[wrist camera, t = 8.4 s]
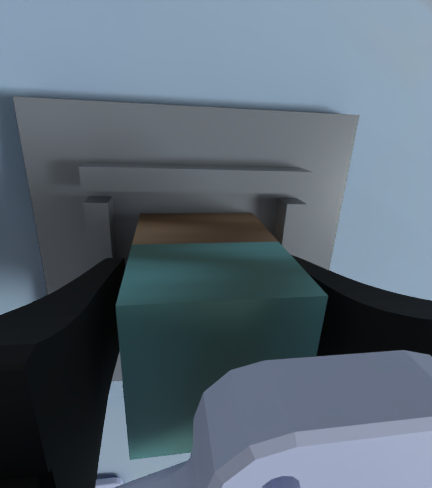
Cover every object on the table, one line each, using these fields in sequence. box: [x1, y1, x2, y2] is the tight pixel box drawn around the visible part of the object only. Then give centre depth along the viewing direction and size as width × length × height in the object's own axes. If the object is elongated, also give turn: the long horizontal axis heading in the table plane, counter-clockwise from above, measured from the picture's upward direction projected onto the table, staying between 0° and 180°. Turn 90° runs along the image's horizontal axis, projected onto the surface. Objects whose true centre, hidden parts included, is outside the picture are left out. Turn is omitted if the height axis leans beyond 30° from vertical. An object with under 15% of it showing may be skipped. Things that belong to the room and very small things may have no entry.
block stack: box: [116, 213, 328, 460], centre depth 10 cm, size 4×4×6 cm
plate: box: [13, 96, 359, 381], centre depth 13 cm, size 12×12×2 cm
